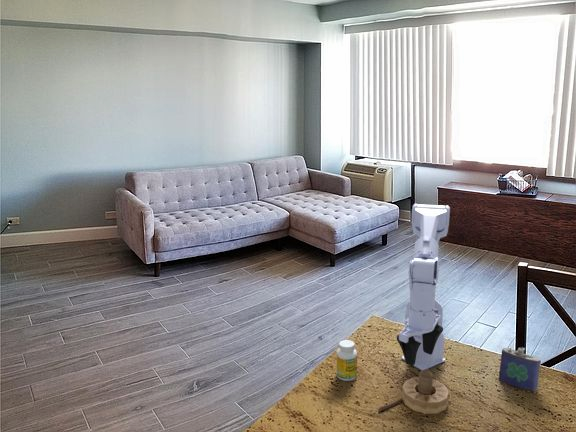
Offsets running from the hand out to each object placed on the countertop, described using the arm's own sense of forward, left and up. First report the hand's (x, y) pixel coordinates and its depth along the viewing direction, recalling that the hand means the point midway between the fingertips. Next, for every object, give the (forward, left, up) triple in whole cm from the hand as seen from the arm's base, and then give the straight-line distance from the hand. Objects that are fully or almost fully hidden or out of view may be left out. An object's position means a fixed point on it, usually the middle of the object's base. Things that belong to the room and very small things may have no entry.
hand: (418, 358), depth 121 cm
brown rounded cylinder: (0, +2, -10) cm, 11 cm away
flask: (-24, +11, -11) cm, 29 cm away
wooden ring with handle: (+3, +2, -10) cm, 11 cm away
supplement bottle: (+9, -17, -11) cm, 22 cm away
